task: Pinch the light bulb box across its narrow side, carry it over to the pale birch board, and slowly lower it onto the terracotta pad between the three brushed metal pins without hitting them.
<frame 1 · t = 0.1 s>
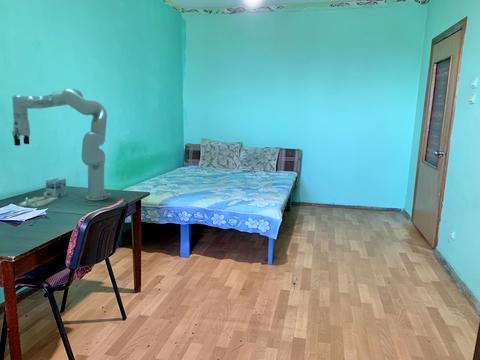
hand: (22, 144, 224), 31 cm above the table, tool pointing down, fingers open, 9 cm apart
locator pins: (38, 198, 213), on the locator board, point 3 cm above the table
light bulb box: (56, 196, 231), on the table
locator board: (38, 202, 214), on the table
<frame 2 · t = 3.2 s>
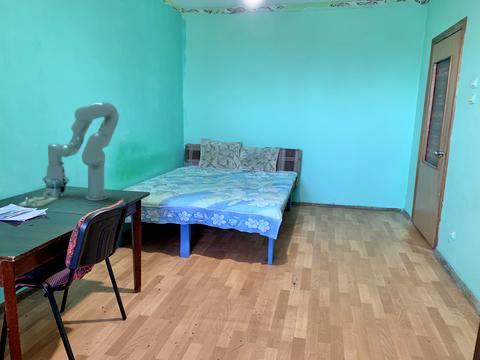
hand: (56, 191, 230), 3 cm above the table, tool pointing down, fingers closed on light bulb box, 7 cm apart
light bulb box: (56, 196, 231), on the table, touching gripper
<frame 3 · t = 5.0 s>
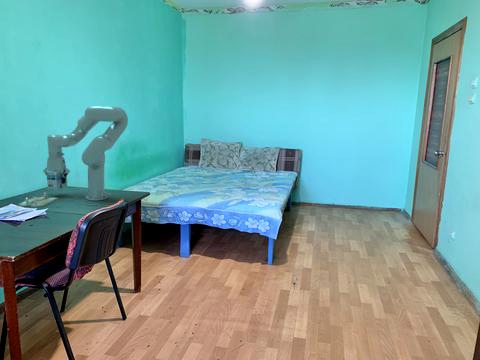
hand: (57, 183, 229), 8 cm above the table, tool pointing down, fingers closed on light bulb box, 7 cm apart
light bulb box: (57, 188, 230), point 5 cm above the table, touching gripper
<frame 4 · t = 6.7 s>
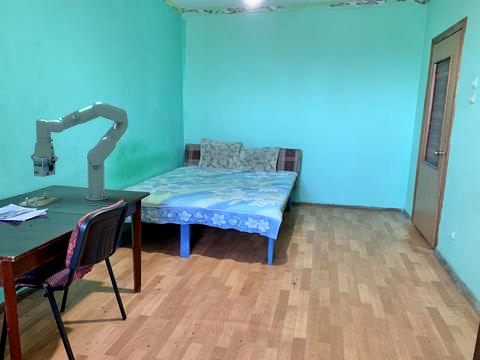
hand: (44, 170, 217), 18 cm above the table, tool pointing down, fingers closed on light bulb box, 7 cm apart
light bulb box: (44, 175, 218), point 15 cm above the table, touching gripper
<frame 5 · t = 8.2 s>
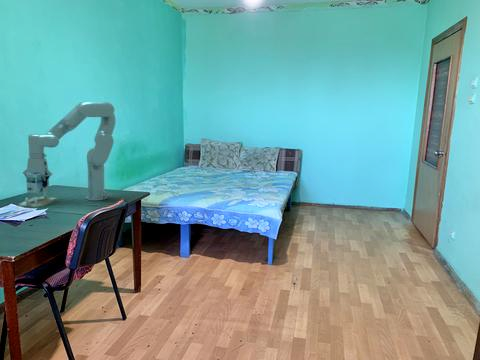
hand: (38, 186, 212), 10 cm above the table, tool pointing down, fingers closed on light bulb box, 7 cm apart
light bulb box: (38, 191, 213), point 7 cm above the table, touching gripper
when the fingers open (5 cm above the table, at t = 9.7 s): light bulb box drops 1 cm, resting on locator board.
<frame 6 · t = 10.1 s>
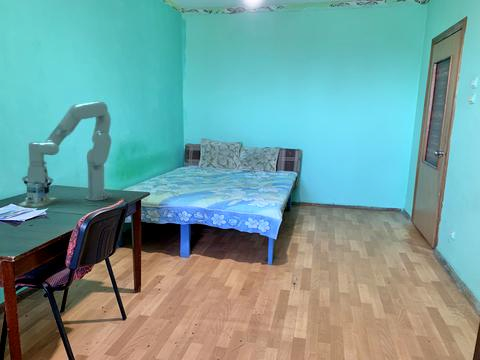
hand: (38, 192, 213), 6 cm above the table, tool pointing down, fingers open, 9 cm apart
light bulb box: (38, 200, 214), point 1 cm above the table, touching locator board
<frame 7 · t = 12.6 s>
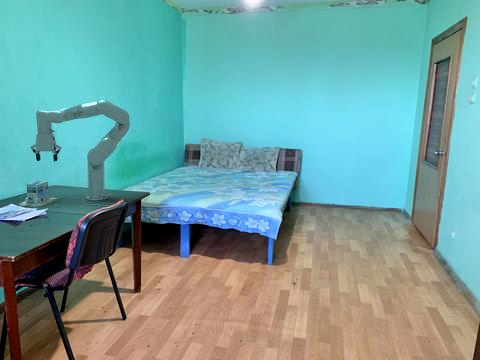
hand: (47, 160, 217), 24 cm above the table, tool pointing down, fingers open, 9 cm apart
nothing on the table moved.
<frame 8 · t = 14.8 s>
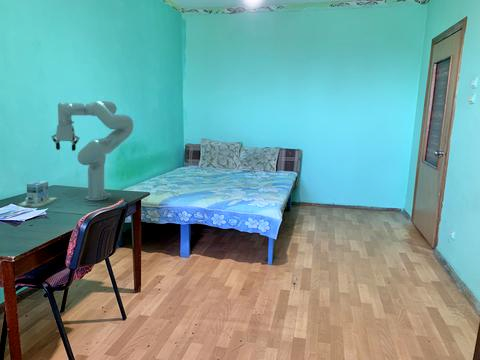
hand: (65, 150, 233), 28 cm above the table, tool pointing down, fingers open, 9 cm apart
nothing on the table moved.
at the end: light bulb box 0.3 cm off-centre on the locator board, point 1.0 cm above the locator board's base; light bulb box tilted 0°; the gripper is holding nothing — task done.
